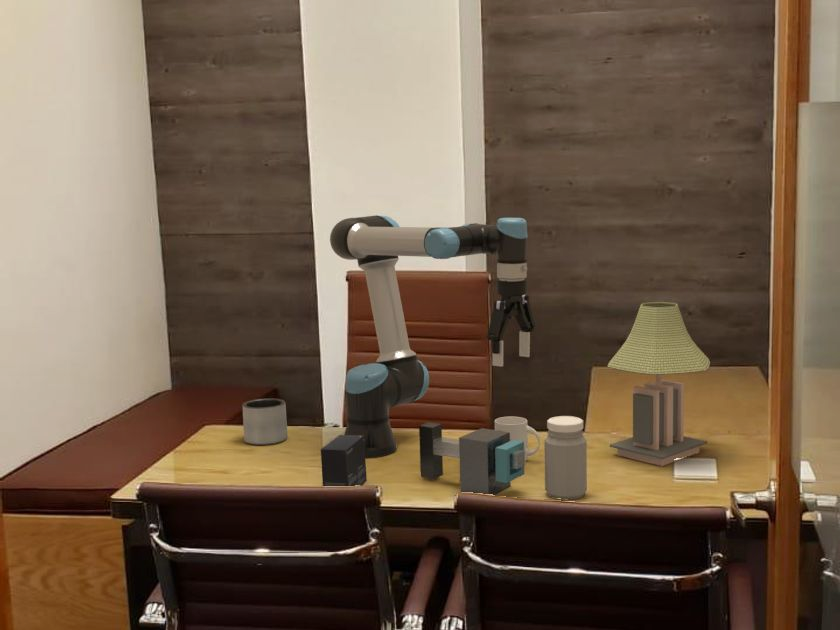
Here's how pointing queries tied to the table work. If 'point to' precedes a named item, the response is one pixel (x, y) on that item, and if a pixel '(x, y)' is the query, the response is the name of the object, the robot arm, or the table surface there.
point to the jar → (565, 458)
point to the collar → (507, 461)
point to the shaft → (447, 451)
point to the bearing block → (481, 461)
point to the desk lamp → (659, 384)
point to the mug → (517, 431)
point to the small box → (344, 461)
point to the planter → (264, 421)
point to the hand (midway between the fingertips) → (511, 361)
